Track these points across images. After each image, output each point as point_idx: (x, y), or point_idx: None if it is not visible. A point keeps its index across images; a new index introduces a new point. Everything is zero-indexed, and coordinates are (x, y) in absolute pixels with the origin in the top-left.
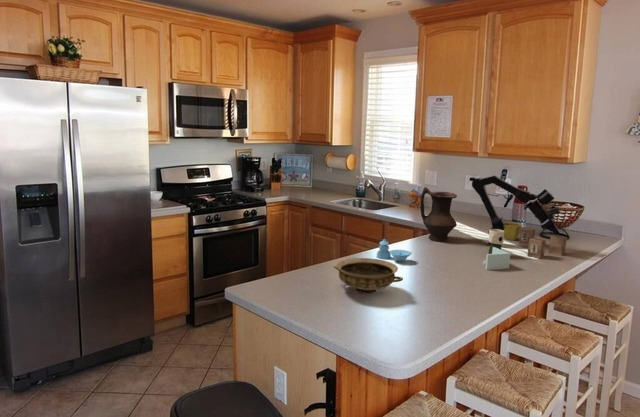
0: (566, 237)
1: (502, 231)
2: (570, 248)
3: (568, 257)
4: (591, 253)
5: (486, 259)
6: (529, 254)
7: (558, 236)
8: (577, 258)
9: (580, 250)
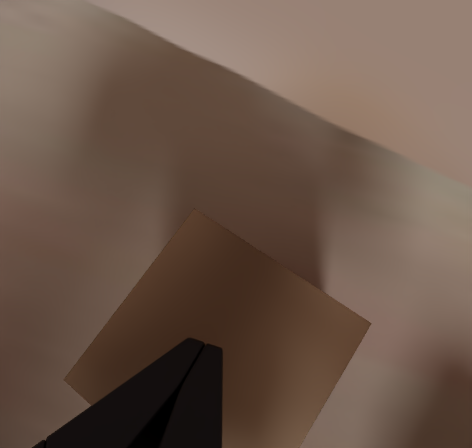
0: (206, 217)
1: None
2: (26, 165)
3: (373, 276)
4: (164, 58)
5: None
6: None
7: None
8: (379, 203)
9: (83, 108)
